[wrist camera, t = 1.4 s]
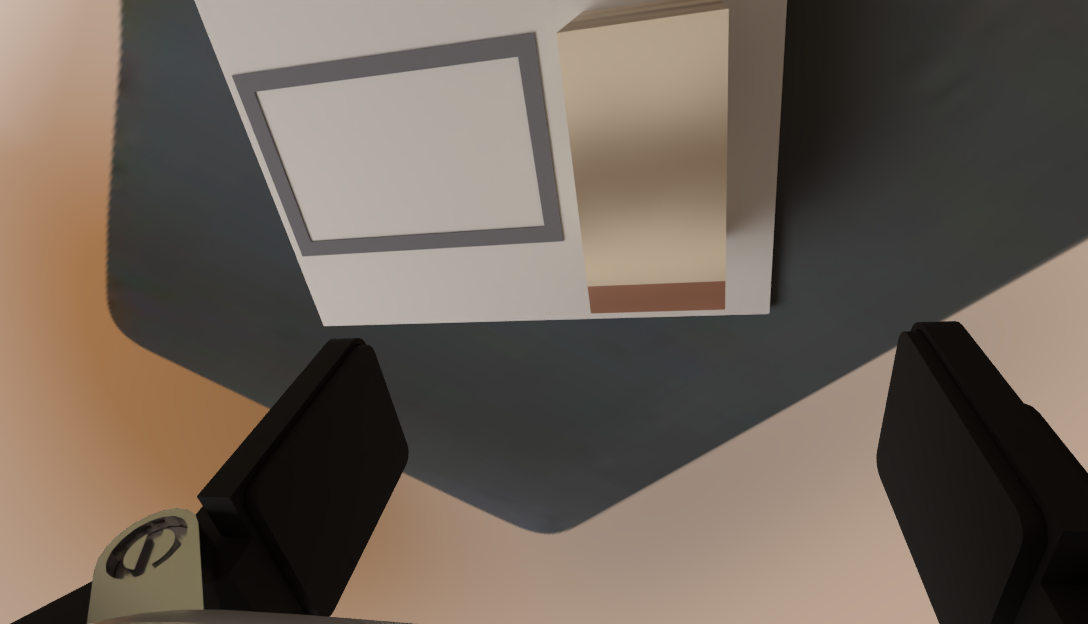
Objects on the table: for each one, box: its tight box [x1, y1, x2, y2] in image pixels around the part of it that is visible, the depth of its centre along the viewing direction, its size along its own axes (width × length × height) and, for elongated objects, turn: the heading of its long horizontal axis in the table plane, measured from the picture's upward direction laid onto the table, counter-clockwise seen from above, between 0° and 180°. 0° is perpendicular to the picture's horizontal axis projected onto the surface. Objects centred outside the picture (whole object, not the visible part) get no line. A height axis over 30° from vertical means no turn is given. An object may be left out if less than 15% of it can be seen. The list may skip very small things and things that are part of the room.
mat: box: [194, 0, 787, 326], centre depth 27 cm, size 24×18×1 cm
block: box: [556, 0, 729, 313], centre depth 22 cm, size 10×5×6 cm, turn 8°
